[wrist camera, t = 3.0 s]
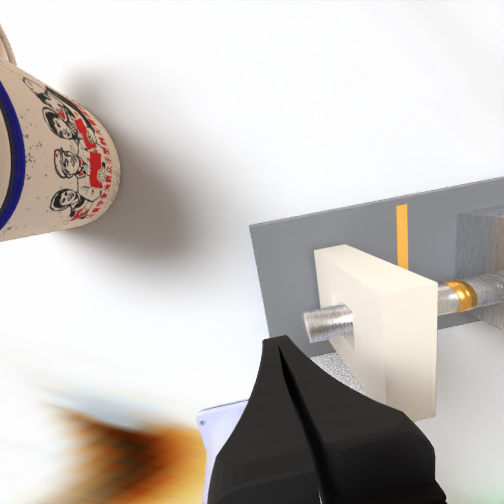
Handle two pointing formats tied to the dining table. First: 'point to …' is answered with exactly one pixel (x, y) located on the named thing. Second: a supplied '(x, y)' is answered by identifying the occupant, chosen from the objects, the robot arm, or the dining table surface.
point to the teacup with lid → (49, 157)
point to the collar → (384, 327)
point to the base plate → (363, 249)
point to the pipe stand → (451, 292)
